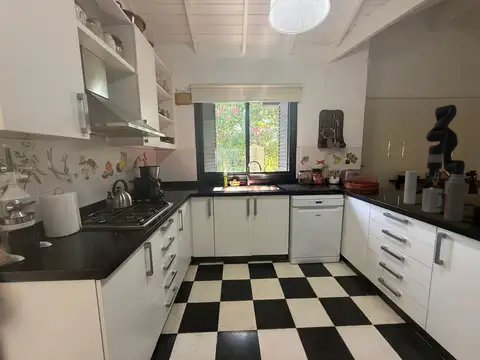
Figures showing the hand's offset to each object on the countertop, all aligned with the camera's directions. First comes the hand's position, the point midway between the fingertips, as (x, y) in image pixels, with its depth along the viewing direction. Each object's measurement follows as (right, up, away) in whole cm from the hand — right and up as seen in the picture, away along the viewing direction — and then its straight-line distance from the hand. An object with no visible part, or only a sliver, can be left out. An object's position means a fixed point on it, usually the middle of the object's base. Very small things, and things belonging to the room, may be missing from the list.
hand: (432, 187), depth 152 cm
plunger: (0, -14, +2) cm, 14 cm away
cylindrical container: (+4, -14, +27) cm, 30 cm away
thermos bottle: (-3, -19, -17) cm, 26 cm away
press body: (+1, -16, +1) cm, 16 cm away
